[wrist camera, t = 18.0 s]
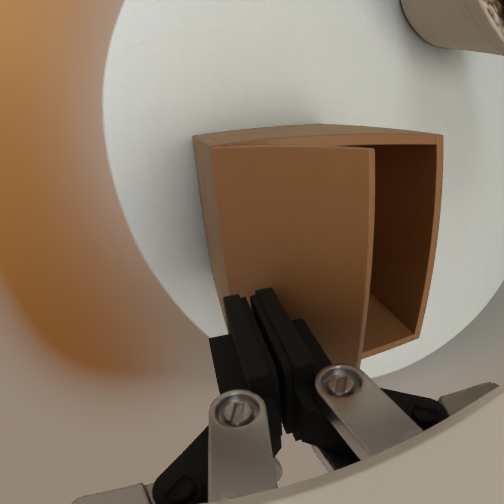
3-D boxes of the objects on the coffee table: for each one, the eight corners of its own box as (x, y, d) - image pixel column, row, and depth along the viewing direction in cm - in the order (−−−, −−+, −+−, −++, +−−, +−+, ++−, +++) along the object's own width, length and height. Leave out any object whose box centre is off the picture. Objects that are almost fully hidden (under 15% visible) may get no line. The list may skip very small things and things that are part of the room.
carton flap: (345, 441, 12) (340, 448, 12) (251, 397, 15) (246, 402, 15) (375, 148, 7) (370, 149, 7) (217, 146, 10) (209, 148, 10)
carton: (326, 251, 30) (419, 338, 17) (211, 272, 29) (245, 391, 16) (321, 123, 26) (443, 135, 13) (192, 135, 24) (210, 145, 11)
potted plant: (422, 87, 26) (599, 102, 8) (362, -30, 20) (518, -98, 2) (480, 60, 26) (616, 70, 8) (433, -38, 20) (562, -69, 2)
